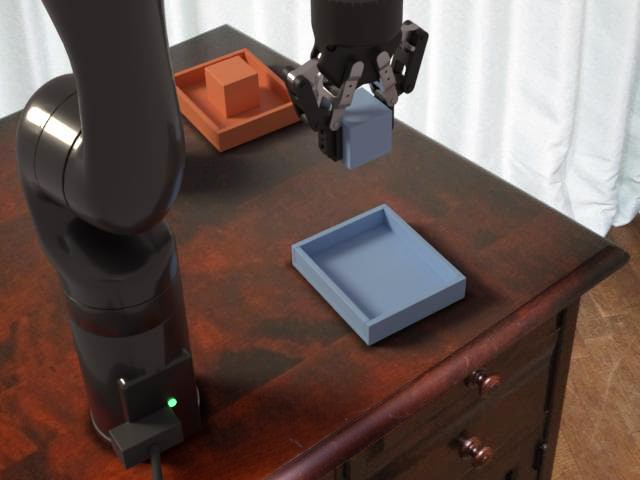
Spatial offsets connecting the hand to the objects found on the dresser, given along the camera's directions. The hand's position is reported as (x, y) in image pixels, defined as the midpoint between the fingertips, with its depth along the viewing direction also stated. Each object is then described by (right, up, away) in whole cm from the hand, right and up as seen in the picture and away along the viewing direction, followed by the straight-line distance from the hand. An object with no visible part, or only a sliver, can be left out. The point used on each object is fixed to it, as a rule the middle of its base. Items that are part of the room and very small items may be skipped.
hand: (356, 145), depth 103 cm
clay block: (-13, +7, +30) cm, 34 cm away
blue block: (0, 0, 0) cm, 0 cm away
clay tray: (-13, +7, +31) cm, 34 cm away
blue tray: (+2, -12, +9) cm, 15 cm away
